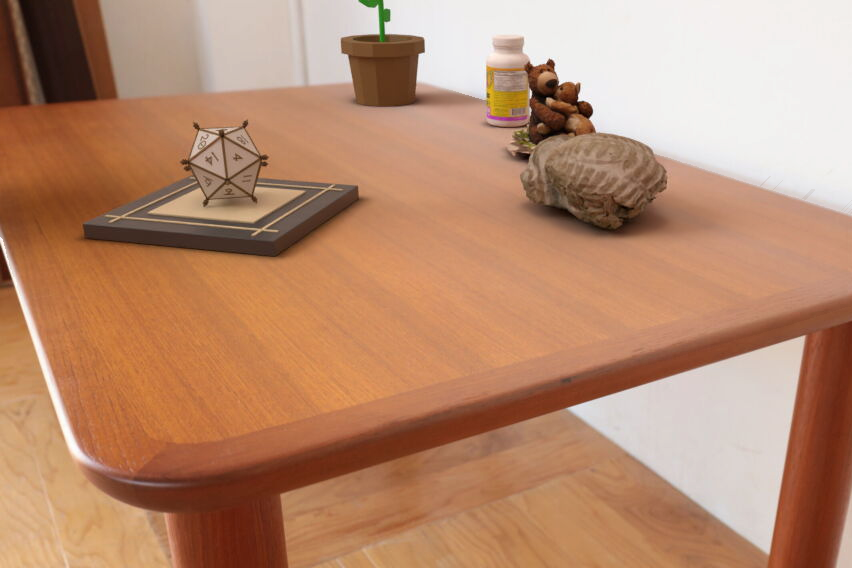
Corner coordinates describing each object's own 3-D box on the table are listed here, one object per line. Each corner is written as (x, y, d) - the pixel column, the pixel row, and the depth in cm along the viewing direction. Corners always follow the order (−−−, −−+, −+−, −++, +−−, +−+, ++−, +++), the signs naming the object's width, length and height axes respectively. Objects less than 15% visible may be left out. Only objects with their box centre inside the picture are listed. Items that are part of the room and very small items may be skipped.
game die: (243, 240, 92) (236, 179, 84) (169, 206, 93) (154, 141, 84) (287, 181, 97) (284, 117, 88) (216, 149, 97) (207, 82, 89)
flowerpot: (355, 92, 162) (344, -92, 149) (433, 94, 161) (429, -91, 148) (333, 107, 149) (318, -93, 136) (418, 109, 148) (411, -93, 135)
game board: (84, 238, 86) (81, 221, 85) (197, 185, 104) (195, 171, 103) (275, 256, 82) (273, 239, 81) (359, 198, 100) (358, 183, 99)
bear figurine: (532, 173, 110) (534, 71, 105) (495, 147, 123) (495, 55, 118) (632, 166, 114) (639, 67, 109) (586, 141, 127) (590, 52, 122)
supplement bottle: (493, 118, 142) (493, 33, 136) (534, 121, 140) (535, 34, 135) (480, 126, 136) (480, 37, 131) (522, 129, 134) (524, 39, 129)
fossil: (499, 178, 101) (533, 94, 98) (599, 214, 106) (633, 134, 103) (548, 225, 85) (590, 126, 82) (662, 264, 91) (705, 172, 88)
